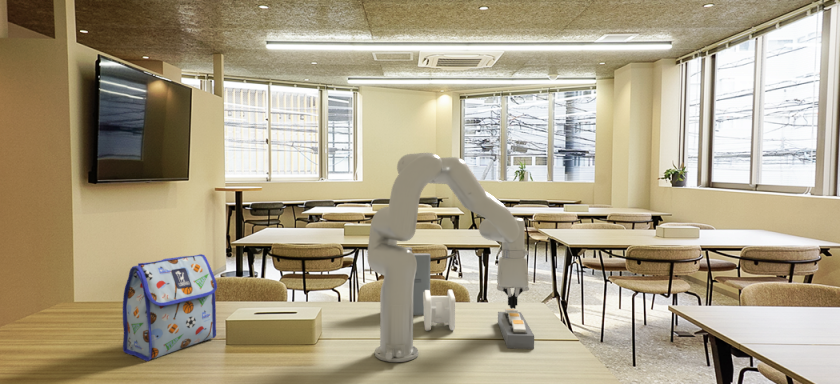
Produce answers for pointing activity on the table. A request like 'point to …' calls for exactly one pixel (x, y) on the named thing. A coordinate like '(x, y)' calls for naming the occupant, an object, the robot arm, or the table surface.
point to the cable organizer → (439, 309)
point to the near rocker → (518, 326)
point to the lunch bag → (168, 306)
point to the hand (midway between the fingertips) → (512, 307)
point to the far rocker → (511, 311)
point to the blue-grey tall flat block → (420, 281)
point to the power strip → (515, 333)
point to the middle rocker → (514, 316)
